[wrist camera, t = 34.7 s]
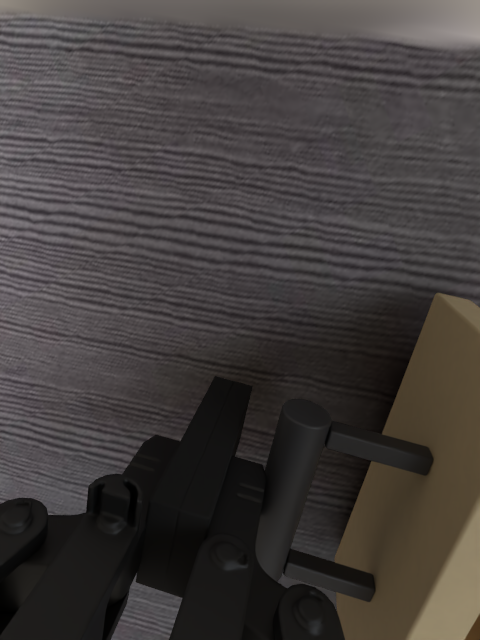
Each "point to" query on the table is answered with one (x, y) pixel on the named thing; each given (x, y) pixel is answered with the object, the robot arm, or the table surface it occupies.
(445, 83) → the table surface
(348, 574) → the drawer
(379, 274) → the table surface
